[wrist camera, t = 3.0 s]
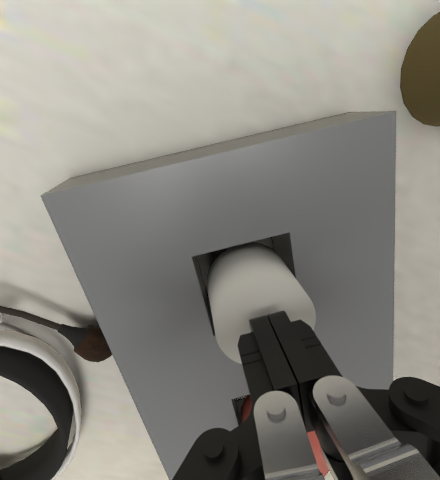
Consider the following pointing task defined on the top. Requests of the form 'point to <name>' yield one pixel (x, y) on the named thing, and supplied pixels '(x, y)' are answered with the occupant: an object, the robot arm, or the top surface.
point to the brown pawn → (423, 74)
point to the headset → (48, 388)
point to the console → (228, 235)
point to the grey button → (252, 293)
